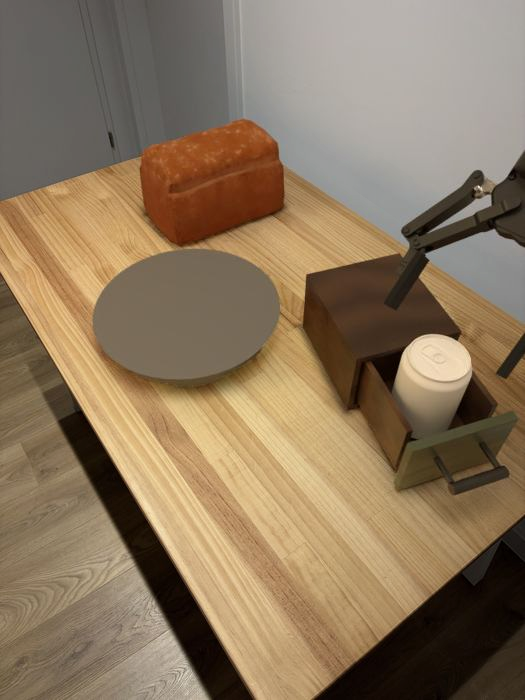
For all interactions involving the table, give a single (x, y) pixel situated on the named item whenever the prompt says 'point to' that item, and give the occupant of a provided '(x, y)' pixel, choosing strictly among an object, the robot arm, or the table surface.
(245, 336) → the flat disc
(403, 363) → the beverage can
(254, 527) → the table surface
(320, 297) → the cabinet
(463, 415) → the drawer
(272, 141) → the bread
